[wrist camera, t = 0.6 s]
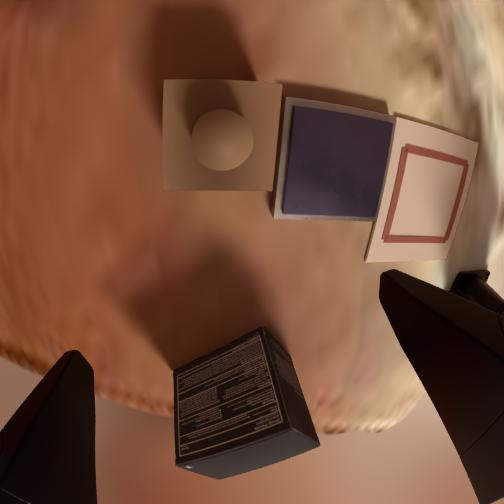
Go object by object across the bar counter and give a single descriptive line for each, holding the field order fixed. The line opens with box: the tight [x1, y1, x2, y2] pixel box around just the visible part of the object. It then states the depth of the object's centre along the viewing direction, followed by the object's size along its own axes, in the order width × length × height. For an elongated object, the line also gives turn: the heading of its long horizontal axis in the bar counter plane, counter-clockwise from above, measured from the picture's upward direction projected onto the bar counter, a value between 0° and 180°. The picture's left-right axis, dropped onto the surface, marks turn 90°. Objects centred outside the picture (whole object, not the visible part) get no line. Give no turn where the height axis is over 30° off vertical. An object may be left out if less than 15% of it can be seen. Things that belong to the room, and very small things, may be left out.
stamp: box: [162, 79, 283, 191], centre depth 14 cm, size 5×5×8 cm
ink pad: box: [271, 97, 397, 222], centre depth 19 cm, size 8×8×1 cm
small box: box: [173, 327, 320, 479], centre depth 24 cm, size 11×6×10 cm, turn 121°
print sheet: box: [364, 117, 479, 262], centre depth 22 cm, size 10×12×1 cm
